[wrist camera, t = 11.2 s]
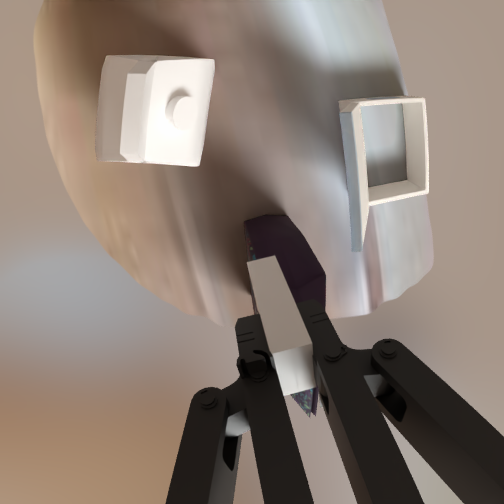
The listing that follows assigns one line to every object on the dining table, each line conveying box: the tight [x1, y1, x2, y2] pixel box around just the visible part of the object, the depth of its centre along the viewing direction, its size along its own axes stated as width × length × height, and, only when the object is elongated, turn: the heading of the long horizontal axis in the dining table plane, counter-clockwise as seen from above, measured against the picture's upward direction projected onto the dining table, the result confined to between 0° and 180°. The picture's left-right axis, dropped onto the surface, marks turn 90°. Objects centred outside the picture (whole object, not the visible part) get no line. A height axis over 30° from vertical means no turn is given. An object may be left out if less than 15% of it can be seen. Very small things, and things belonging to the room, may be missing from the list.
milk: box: [95, 55, 215, 166], centre depth 31 cm, size 12×12×26 cm
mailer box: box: [338, 96, 429, 206], centre depth 47 cm, size 16×13×6 cm
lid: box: [339, 102, 369, 252], centre depth 38 cm, size 16×13×1 cm
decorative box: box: [244, 215, 326, 417], centre depth 44 cm, size 8×16×28 cm, turn 5°
